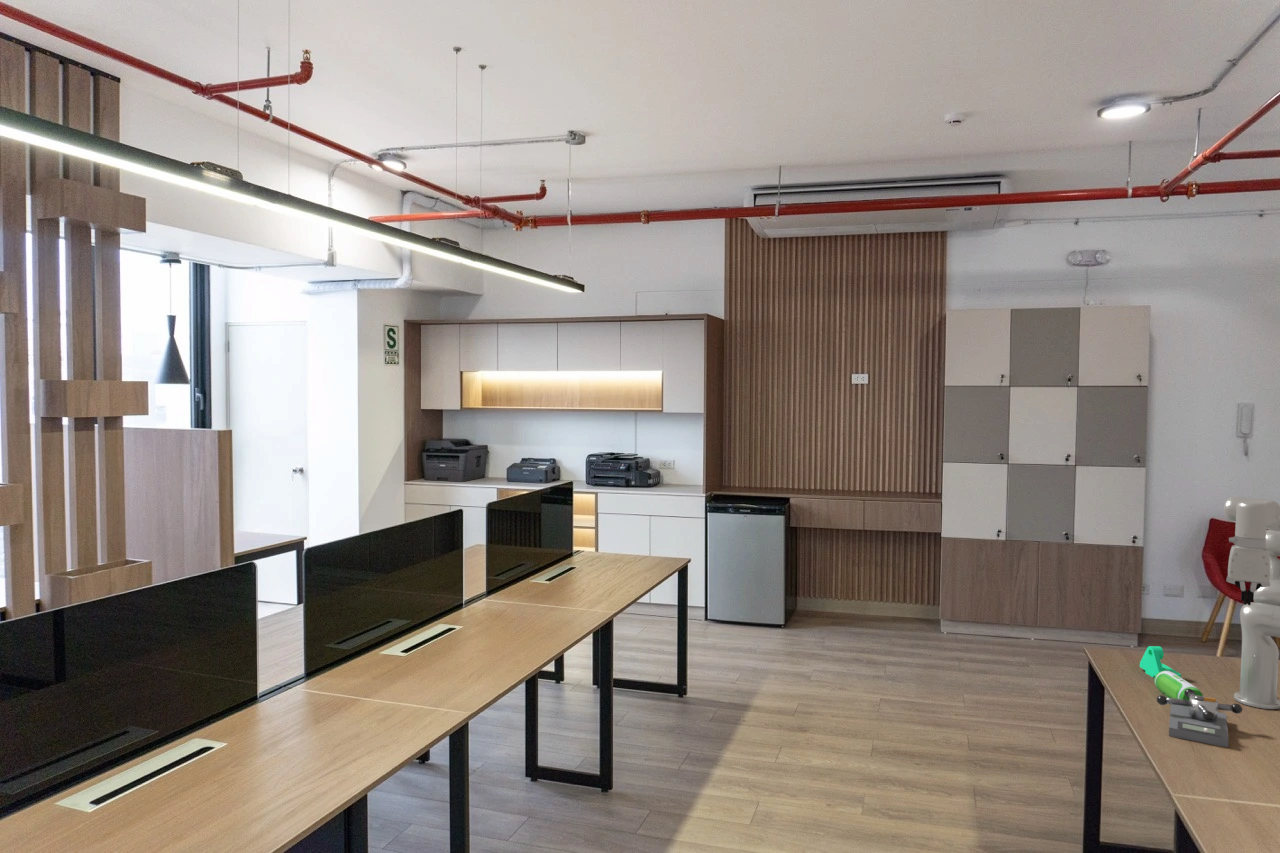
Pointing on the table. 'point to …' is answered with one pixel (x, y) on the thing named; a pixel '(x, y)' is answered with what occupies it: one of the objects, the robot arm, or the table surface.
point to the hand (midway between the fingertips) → (1246, 603)
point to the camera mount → (1154, 661)
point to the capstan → (1200, 705)
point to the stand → (1198, 727)
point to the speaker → (1173, 685)
